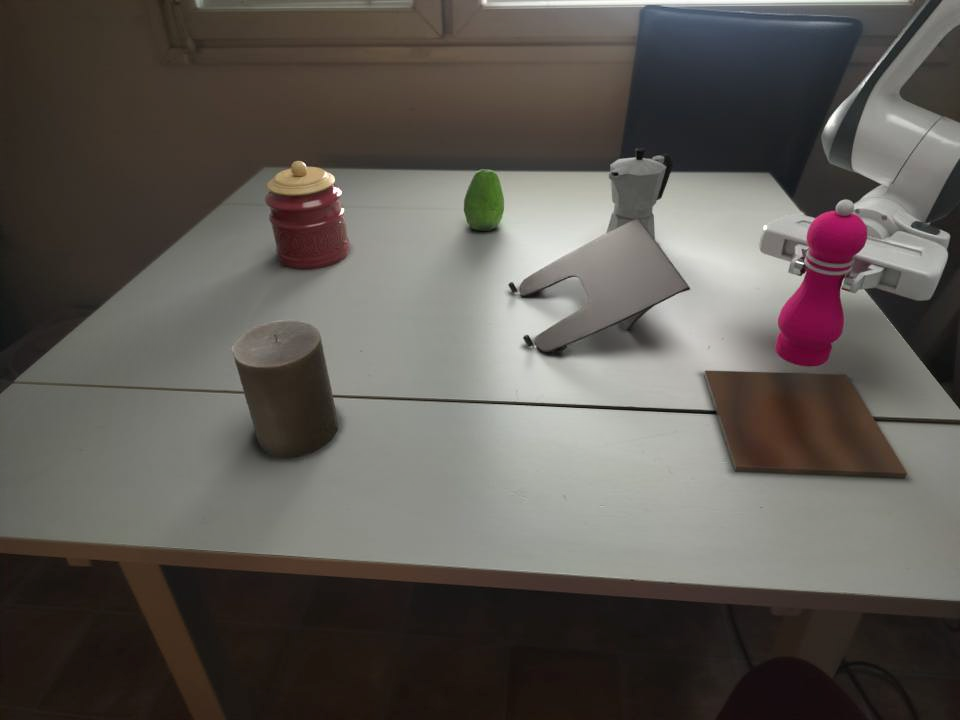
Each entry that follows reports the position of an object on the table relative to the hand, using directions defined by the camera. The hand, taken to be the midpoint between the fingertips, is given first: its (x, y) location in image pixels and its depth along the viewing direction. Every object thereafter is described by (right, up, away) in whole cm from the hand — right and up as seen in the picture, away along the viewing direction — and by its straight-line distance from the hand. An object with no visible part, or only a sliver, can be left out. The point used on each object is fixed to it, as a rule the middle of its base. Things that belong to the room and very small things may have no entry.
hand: (822, 277), depth 76 cm
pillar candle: (-61, -19, +5) cm, 64 cm away
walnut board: (-1, -18, +4) cm, 18 cm away
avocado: (-38, +16, +53) cm, 68 cm away
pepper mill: (+1, -9, +7) cm, 11 cm away
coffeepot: (-11, +12, +46) cm, 49 cm away
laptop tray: (-23, -3, +26) cm, 35 cm away
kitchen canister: (-69, +9, +45) cm, 83 cm away
